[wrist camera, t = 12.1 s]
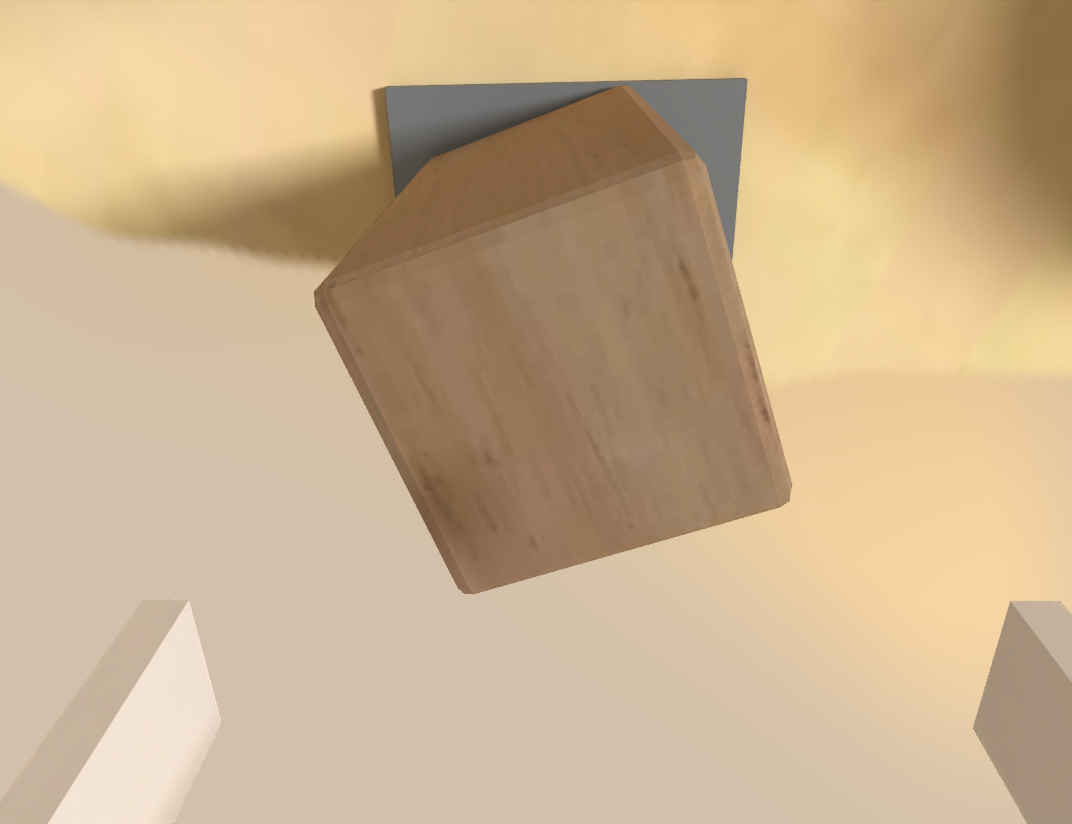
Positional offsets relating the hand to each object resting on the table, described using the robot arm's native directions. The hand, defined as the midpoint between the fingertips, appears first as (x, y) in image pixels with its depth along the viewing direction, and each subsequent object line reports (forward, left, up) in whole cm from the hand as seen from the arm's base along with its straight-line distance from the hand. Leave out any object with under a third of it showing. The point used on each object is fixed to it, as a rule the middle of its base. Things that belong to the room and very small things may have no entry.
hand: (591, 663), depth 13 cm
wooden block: (-1, 0, -29) cm, 29 cm away
